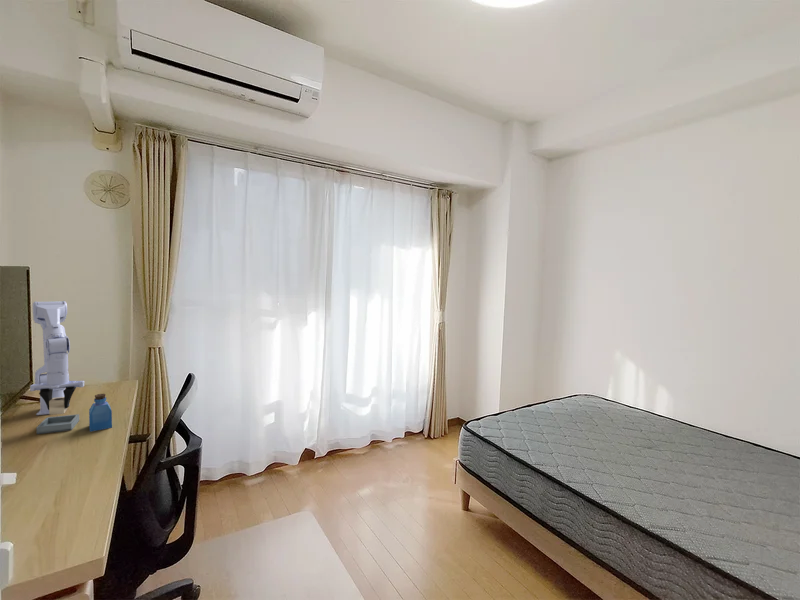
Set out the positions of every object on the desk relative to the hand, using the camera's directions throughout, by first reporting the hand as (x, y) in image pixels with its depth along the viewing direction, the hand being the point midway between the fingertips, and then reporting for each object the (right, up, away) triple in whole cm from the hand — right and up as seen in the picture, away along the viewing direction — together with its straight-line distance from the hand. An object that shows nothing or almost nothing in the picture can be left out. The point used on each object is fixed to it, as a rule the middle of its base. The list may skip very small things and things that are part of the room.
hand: (58, 408), depth 137 cm
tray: (0, -7, +1) cm, 7 cm away
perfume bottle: (+13, -8, +3) cm, 16 cm away
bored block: (0, -2, 0) cm, 2 cm away
